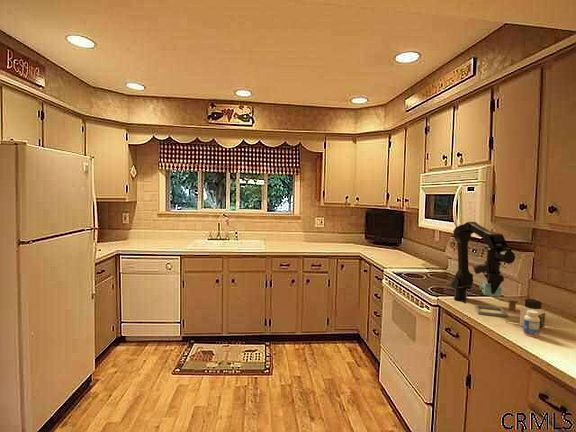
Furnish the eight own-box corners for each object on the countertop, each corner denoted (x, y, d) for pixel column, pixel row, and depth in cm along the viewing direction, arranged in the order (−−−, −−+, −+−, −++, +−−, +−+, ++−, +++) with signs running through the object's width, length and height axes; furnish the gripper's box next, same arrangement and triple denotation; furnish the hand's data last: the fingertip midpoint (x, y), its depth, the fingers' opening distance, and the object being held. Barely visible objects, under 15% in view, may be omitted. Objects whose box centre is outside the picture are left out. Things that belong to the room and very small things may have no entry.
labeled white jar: (537, 331, 158) (539, 303, 157) (519, 325, 163) (520, 298, 163) (544, 327, 162) (546, 300, 161) (526, 322, 168) (527, 296, 167)
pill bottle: (522, 331, 157) (523, 308, 156) (537, 333, 155) (538, 310, 154) (524, 335, 152) (526, 312, 151) (540, 338, 150) (541, 314, 149)
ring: (498, 292, 181) (498, 284, 181) (501, 296, 175) (501, 288, 174) (478, 290, 184) (478, 282, 184) (480, 294, 177) (481, 286, 177)
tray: (474, 308, 187) (474, 304, 187) (501, 311, 183) (501, 307, 183) (478, 315, 176) (478, 311, 176) (507, 319, 172) (507, 315, 172)
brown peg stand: (501, 307, 189) (501, 297, 189) (519, 309, 187) (519, 299, 187) (504, 312, 182) (505, 301, 182) (523, 314, 179) (524, 303, 179)
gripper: (472, 255, 189) (470, 285, 190) (477, 261, 172) (475, 294, 173) (496, 257, 186) (494, 287, 187) (505, 263, 168) (503, 297, 169)
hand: (491, 291), depth 179 cm, fingers closed on ring, 7 cm apart
